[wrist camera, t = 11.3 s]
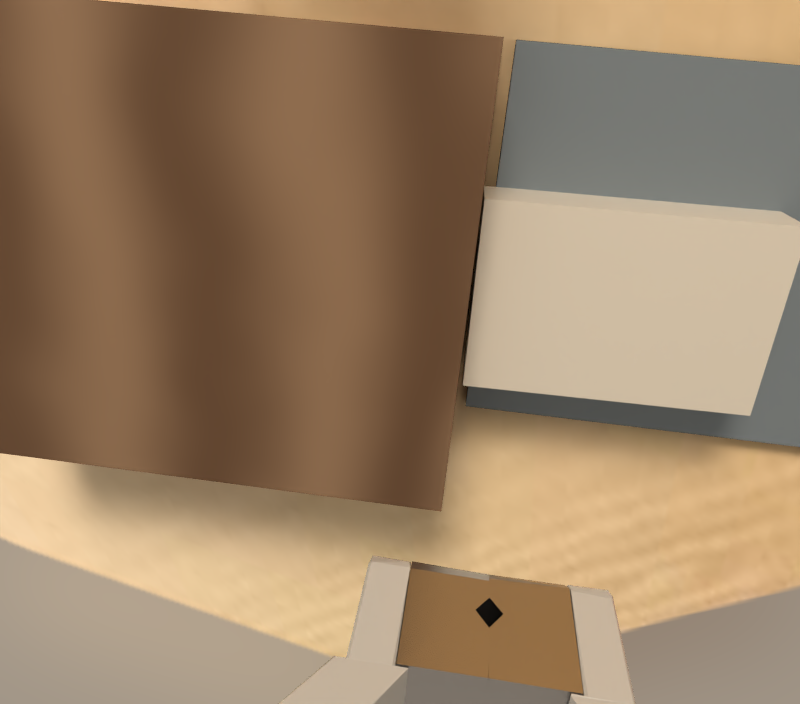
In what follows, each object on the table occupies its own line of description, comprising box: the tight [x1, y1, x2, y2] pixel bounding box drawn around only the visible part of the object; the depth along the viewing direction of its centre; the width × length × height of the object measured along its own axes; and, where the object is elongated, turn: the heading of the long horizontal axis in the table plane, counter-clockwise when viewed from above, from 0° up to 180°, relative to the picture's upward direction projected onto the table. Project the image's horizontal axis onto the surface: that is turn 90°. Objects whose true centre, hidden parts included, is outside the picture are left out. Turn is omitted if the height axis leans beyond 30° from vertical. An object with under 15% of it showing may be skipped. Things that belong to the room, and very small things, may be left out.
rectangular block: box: [463, 186, 800, 416], centre depth 22 cm, size 9×6×2 cm, turn 86°
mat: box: [466, 40, 800, 447], centre depth 22 cm, size 14×12×1 cm
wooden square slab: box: [0, 0, 504, 511], centre depth 22 cm, size 15×14×4 cm
